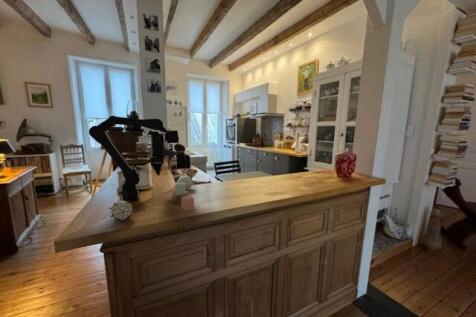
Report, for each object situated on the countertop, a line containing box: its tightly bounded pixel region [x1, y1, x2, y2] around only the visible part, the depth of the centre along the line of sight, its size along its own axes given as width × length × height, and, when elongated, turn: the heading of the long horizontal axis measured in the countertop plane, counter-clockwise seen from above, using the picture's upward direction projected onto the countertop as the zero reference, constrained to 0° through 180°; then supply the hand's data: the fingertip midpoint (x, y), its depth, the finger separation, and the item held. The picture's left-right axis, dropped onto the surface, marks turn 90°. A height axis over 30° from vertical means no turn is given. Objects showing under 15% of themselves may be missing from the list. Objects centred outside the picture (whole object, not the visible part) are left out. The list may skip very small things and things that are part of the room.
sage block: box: [174, 182, 186, 195], centre depth 99 cm, size 4×4×5 cm
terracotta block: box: [180, 194, 195, 212], centre depth 91 cm, size 4×4×5 cm
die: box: [175, 175, 194, 191], centre depth 117 cm, size 8×9×10 cm
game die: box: [108, 197, 136, 223], centre depth 78 cm, size 9×8×10 cm
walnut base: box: [171, 190, 189, 205], centre depth 99 cm, size 7×7×4 cm
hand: (159, 173), depth 105 cm, fingers open, 9 cm apart
